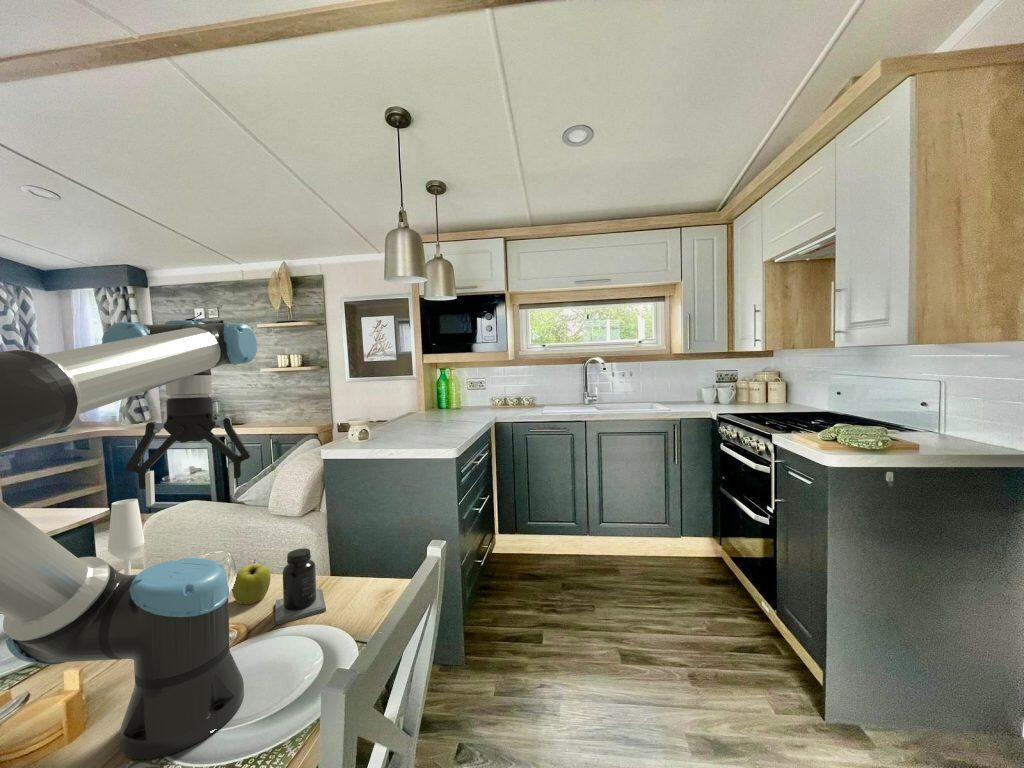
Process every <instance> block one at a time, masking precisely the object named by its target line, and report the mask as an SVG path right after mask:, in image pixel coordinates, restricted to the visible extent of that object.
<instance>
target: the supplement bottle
mask: <svg viewBox="0 0 1024 768" xmlns="http://www.w3.org/2000/svg"><path fill="white" fill-rule="evenodd" d="M286 559H287V560H286V561H287V562H286V563H287V564H286V565H285V566H284V568H283V569H282V595H283V596H282V597H283V598H282V599H283V602H284V607H285V608H286V609H287V610H300V609H304V608H306V607H308V606H310V605H311V604H313V603H314V601H315V600H316V590H317V578H316V577H317V573H316V570H317V568H316V563H315V562H314V560H312V555H311V549H310V548H298V549H294V550H291V551H289V552H287V555H286Z"/></svg>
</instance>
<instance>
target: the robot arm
mask: <svg viewBox="0 0 1024 768" xmlns="http://www.w3.org/2000/svg"><path fill="white" fill-rule="evenodd" d="M257 352H258V339H257V336H256V334H255V332H254V330H253V328H251V327H250V326H249V325H247V324H246V323H241V322H240V323H239V322H229V321H227V322H223V323H222V322H220V323H217V322H216V323H205V322H202V321H196V320H194V321H193V320H186V319H185V320H184V319H183V320H182V319H173V320H167V321H165V322H164V323H163V324H143V323H141V322H135V321H134V322H128V321H120V322H116V323H113V324H112V325H110V326H109V327H108V328H107V329H106V330H105V332H104V333H103V335H102V338H101V343H99V344H93V345H88V346H82V347H77V348H73V349H66V350H62V351H56V352H50V353H45V354H43V353H40V352H36V351H34V350H27V349H12V350H5V351H1V352H0V454H1V453H3V452H6V451H9V450H12V449H14V448H17V447H20V446H23V445H25V444H28V443H31V442H33V441H36V440H39V439H41V438H43V437H47V436H50V435H52V434H55V433H59V432H60V431H62V430H65V429H67V428H68V427H70V426H71V425H72V424H73V423H74V422H75V421H76V419H77V417H78V416H79V415H80V414H85V413H87V412H90V411H92V410H96V409H99V408H102V407H105V406H107V405H110V404H113V403H116V402H119V401H121V400H125V399H127V398H130V397H133V396H135V395H139V394H142V393H145V392H147V391H150V390H154V389H156V388H158V387H162V386H165V395H166V396H167V397H168V396H169V398H167V399H166V400H165V402H166V405H165V406H166V421H165V422H156V421H151V422H150V421H149V422H148V423H147V422H146V424H145V430H144V431H145V432H144V435H143V437H142V438H141V440H140V442H139V443H138V445H137V447H136V449H135V450H134V452H133V454H132V455H131V456H130V459H129V460H128V462H127V464H126V465H125V467H124V470H125V471H126V472H133V473H136V474H137V475H138V488H139V490H145V501H146V502H145V503H146V507H147V508H148V507H152V506H154V504H155V503H156V499H155V498H156V497H155V496H156V495H155V493H156V492H155V490H156V489H155V470H149V469H150V468H151V467H152V466H153V465H154V464H155V463H156V462H158V460H159V459H160V458H161V457H162V456H163V455H164V454H165V453H166V452H167V451H168V450H169V448H171V446H173V445H174V444H175V443H176V442H179V443H188V442H201V441H203V440H206V441H207V442H208V443H210V444H211V445H212V446H214V448H216V449H217V450H218V451H220V452H221V453H222V454H223V455H224V456H225V457H227V458H228V459H229V460H230V461H231V462H230V463H229V464H228V467H229V471H228V472H229V473H228V474H229V496H234V495H236V479H239V478H241V476H242V462H243V461H246V460H249V459H250V457H251V453H250V452H249V450H248V448H247V447H246V445H245V444H244V443H243V440H242V439H241V438H240V437H239V434H237V432H236V431H235V428H233V424H232V419H231V417H225V418H220V419H215V417H214V412H213V411H214V409H213V408H214V407H213V403H214V402H213V398H212V397H211V396H210V395H211V394H213V384H212V383H213V379H212V369H213V368H217V367H220V366H223V365H233V366H237V365H240V364H242V365H243V364H248V363H250V362H252V361H253V360H254V359H255V358H256V356H257ZM216 426H219V429H224V431H225V432H226V434H227V436H228V437H229V439H230V441H232V443H233V445H234V446H235V448H236V449H237V451H238V453H239V455H238V454H237V453H236V452H235V451H234V450H233V449H231V447H229V446H228V445H227V444H226V443H224V442H223V441H222V440H221V439H220V438H218V436H217V435H215V433H213V432H212V431H213V429H214V428H215V427H216ZM162 429H164V430H165V431H166V432H167V433H168V434H169V436H168V437H167V438H166V440H165V441H163V443H162V444H161V445H160V446H159V447H158V448H157V449H156V450H155V451H154V452H153V453H152V454H150V456H149V457H148V458H147V459H146V460H145V461H144V462H143V463H142V464H140V462H141V461H142V459H143V458H144V455H145V454H146V452H147V450H148V449H149V447H150V445H151V444H152V441H153V440H154V439H155V437H156V434H159V433H160V432H161V431H162ZM229 596H230V587H229V584H228V579H227V572H226V569H225V567H224V566H223V565H222V564H221V563H219V562H218V561H215V560H214V559H210V558H202V557H186V558H179V559H178V560H167V561H164V562H160V563H157V564H153V565H150V566H149V567H147V568H145V569H143V570H142V571H139V573H137V574H131V575H125V574H124V573H122V572H119V571H118V570H117V569H115V568H114V567H113V565H112V566H111V565H110V564H109V563H108V562H107V561H105V560H104V559H102V558H101V557H96V556H82V557H77V556H76V555H75V554H73V553H72V552H71V551H69V550H68V549H66V547H64V546H63V545H62V544H60V543H58V542H57V541H56V540H54V538H52V537H51V536H49V535H48V534H47V533H45V532H44V531H43V530H42V529H40V528H39V527H37V526H36V525H35V524H33V523H32V522H31V521H30V520H28V519H27V518H25V517H24V516H23V515H21V513H19V512H18V511H16V510H15V509H13V508H12V507H11V506H9V504H7V503H6V502H5V501H3V500H1V499H0V614H1V615H2V616H3V621H2V628H3V631H4V634H5V635H7V636H8V638H7V639H6V640H5V644H6V647H7V649H8V651H9V652H10V653H11V654H12V655H13V656H14V657H15V658H17V659H18V660H20V661H24V662H27V663H32V664H39V665H59V664H65V663H73V662H74V663H76V662H92V661H114V660H117V661H118V660H133V664H134V666H133V667H134V668H133V669H134V688H133V690H132V694H131V697H130V699H129V701H128V702H129V703H128V706H127V708H126V712H125V714H124V717H123V719H122V723H121V725H120V733H119V739H120V740H119V742H120V750H121V753H123V755H124V756H126V757H128V758H130V759H132V760H133V759H134V760H153V759H158V758H162V757H166V756H170V755H172V754H175V753H178V752H180V751H181V752H182V751H183V750H186V749H188V748H189V747H193V746H194V745H196V744H198V743H199V742H202V741H203V740H205V739H206V738H209V736H211V735H212V734H211V733H210V731H212V730H214V729H218V728H219V729H221V728H222V727H223V726H224V725H225V724H227V723H228V722H229V721H230V720H231V718H233V717H234V715H235V714H236V713H237V712H238V710H239V708H240V707H242V703H243V701H244V698H245V687H244V686H245V685H244V684H245V683H244V678H243V676H242V673H241V671H240V669H239V667H238V665H237V663H236V661H235V659H234V657H233V655H232V653H231V648H230V616H229V613H230V612H229ZM219 729H218V730H219Z"/></svg>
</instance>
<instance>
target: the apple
mask: <svg viewBox="0 0 1024 768" xmlns="http://www.w3.org/2000/svg"><path fill="white" fill-rule="evenodd" d="M236 573H237V577H236V581H235V584H234V587H233V589H231V592H232V596H233V598H234V600H235V601H236V602H237V603H238V604H242V605H246V606H247V605H252V604H253V603H257V602H258V601H260V600H262V599H263V598H264V597H265V596H266V595H267V593H268V590H269V587H270V585H271V571H270V570H269V569H268V567H266V566H265V565H262V564H259V563H258V564H257V563H256V558H255V559H254V562H253V563H251V564H247V565H245V566H243V567H241V568H240V569H239V570H238V571H237V572H236Z"/></svg>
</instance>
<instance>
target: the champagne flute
mask: <svg viewBox="0 0 1024 768" xmlns="http://www.w3.org/2000/svg"><path fill="white" fill-rule="evenodd" d="M109 519H110V520H109V532H108V541H107V542H108V544H107V552H108V553H109V554H111V556H113V557H116V558H117V559H120V560H123V571H124V573H123V574H125V575H132V571H131V570H132V568H131V567H132V566H131V558H133V557H134V556H135V555H136V554H137V553H138V552H140V550H141V549H142V548H143V546H144V544H145V537H144V536H145V535H144V530H143V523H142V517H141V511H140V505H139V500H138V498H128V499H122V500H117V501H114V502H112V503H111V509H110V518H109Z"/></svg>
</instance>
